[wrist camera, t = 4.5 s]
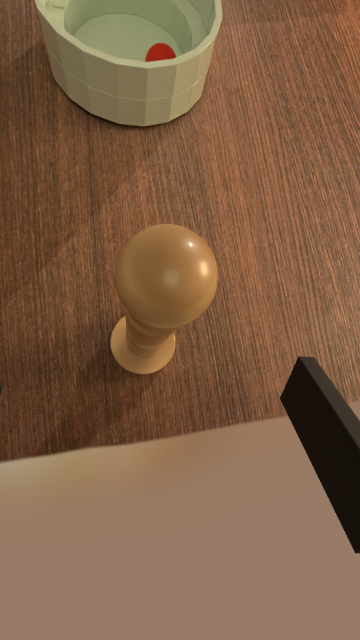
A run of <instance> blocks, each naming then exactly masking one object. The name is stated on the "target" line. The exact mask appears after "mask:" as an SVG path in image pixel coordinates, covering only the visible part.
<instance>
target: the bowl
mask: <svg viewBox="0 0 360 640" xmlns="http://www.w3.org/2000/svg"><path fill="white" fill-rule="evenodd" d="M33 4H34V8H35V12H36V16H37V20H38V24H39V28H40V32H41V36H42V40H43V44H44V48H45V53H46V57H47V60H48V63H49V66H50V68H51V71H52V74H53V77H54V79H55V81H56V82H57V83H58V84H59V86H60V87H61V88H62V89H63V91H64V92H65V93H66V94H67V96H68V97H69V98H70V99H71V100H73V101H74V102H75V103H77V104H78V105H80V106H81V107H83V108H84V109H85V110H87V111H88V112H90V113H91V114H93V115H96V116H99V117H102V118H104V119H107V120H110V121H112V122H115V123H118V124H125V125H135V126H149V125H155V124H161V123H167V122H169V121H171V120H173V119H175V118H177V117H179V116H181V115H182V114H184V113H186V112H188V111H189V110H190V109H191V107H192V106H193V105H194V104H195V103H196V102H197V101H198V99H199V98H200V97H201V95H202V92H203V89H204V86H205V83H206V80H207V76H208V72H209V68H210V64H211V60H212V56H213V52H214V49H215V45H216V41H217V37H218V33H219V29H220V25H221V21H222V7H221V0H33ZM157 43H165V44H167V45H169V46H170V47H171V48H172V49H173V51H174V53H175V55H176V58H174V59H167V60H159V61H151V62H145V58H146V55H147V52H148V50H149V49H150V48H151V47H152V46H153V45H154V44H157Z"/></svg>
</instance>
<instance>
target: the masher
mask: <svg viewBox="0 0 360 640" xmlns="http://www.w3.org/2000/svg"><path fill="white" fill-rule="evenodd" d="M217 283H218V270H217V264H216V261H215V258H214V255H213V253H212V251H211V250H210V248H209V246H208V245H207V244H206V242H205V241H204V240H203V239H202V238H201V237H200V236H198V235H197V234H196V233H194V232H193V231H191V230H189V229H187V228H185V227H182V226H179V225H174V224H159V225H154V226H150V227H147V228H145V229H143V230H141V231H139V232H138V233H136V234H135V235H134V236H133V237H131V238H130V239H129V240H128V242H127V243H126V244H125V245H124V247H123V248H122V250H121V252H120V254H119V256H118V259H117V262H116V267H115V285H116V289H117V293H118V295H119V298H120V300H121V302H122V303H123V305H124V306H125V310H126V315H125V316H124V317H122V318H121V319H120V320H119V321H118V322H117V324H116V325H115V327H114V329H113V331H112V334H111V340H110V345H111V351H112V354H113V356H114V358H115V360H116V361H117V363H118V364H119V365H120V366H121V367H122V368H123V369H125V370H126V371H128V372H130V373H133V374H138V375H146V374H151V373H154V372H156V371H158V370H160V369H161V368H163V367H164V366H165V365H166V364H167V363H168V362H169V360H170V359H171V357H172V355H173V353H174V349H175V336H174V331H175V330H176V329H177V328H178V327H180V326H183V325H186V324H188V323H190V322H192V321H193V320H195V319H196V318H198V317H199V316H200V315H201V314H202V313H203V312H204V311H205V310H206V309H207V308H208V306H209V305H210V303H211V301H212V300H213V297H214V295H215V292H216V288H217Z"/></svg>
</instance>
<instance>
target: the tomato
mask: <svg viewBox="0 0 360 640" xmlns="http://www.w3.org/2000/svg"><path fill="white" fill-rule="evenodd" d="M174 58H176V55H175V53H174V51H173V49H172V48H171V47H170V46H169V45H167V44H165V43H157V44H154V45H153V46H152V47H151V48H150V49H149V50H148V52H147V55H146V58H145V62H151V61H159V60H167V59H174Z"/></svg>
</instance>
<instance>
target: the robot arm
mask: <svg viewBox="0 0 360 640" xmlns="http://www.w3.org/2000/svg"><path fill="white" fill-rule="evenodd" d="M1 391H2V390H1V386H0V393H1ZM280 400H281V402H282V404H283V406H284V408H285V410H286V412H287V414H288V416H289V418H290V420H291V422H292V424H293V426H294V429H295V431H296V433H297V434H298V437H299V439H300V441H301V443H302V445H303V447H304V449H305V451H306V453H307V455H308V457H309V459H310V461H311V463H312V465H313V467H314V469H315V472H316V474H317V476H318V478H319V480H320V482H321V484H322V486H323V488H324V490H325V492H326V494H327V496H328V498H329V500H330V502H331V504H332V506H333V508H334V511H335V513H336V515H337V517H338V519H339V521H340V523H341V525H342V527H343V529H344V531H345V533H346V535H347V537H348V539H349V541H350V543H351V545H352V547H353V549H354V551H355V553H360V421H359V419H358V418H357V416H356V415H355V414H354V412H353V411H352V409H351V408H350V407H349V405H348V404H347V403H346V401H345V400H344V398H343V397H342V396H341V394H340V393H339V391H338V390H337V389H336V387H335V386H334V384H333V383H332V382H331V380H330V379H329V378H328V376H327V375H326V373H325V372H324V371H323V369H322V368H321V366H320V365H319V364H318V362H317V361H316V359H315V358H314V357H298V359H297V361H296V363H295V366H294V368H293V370H292V372H291V375H290V377H289V379H288V381H287V384H286V386H285V388H284V390H283V393H282V395H281V397H280Z"/></svg>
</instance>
